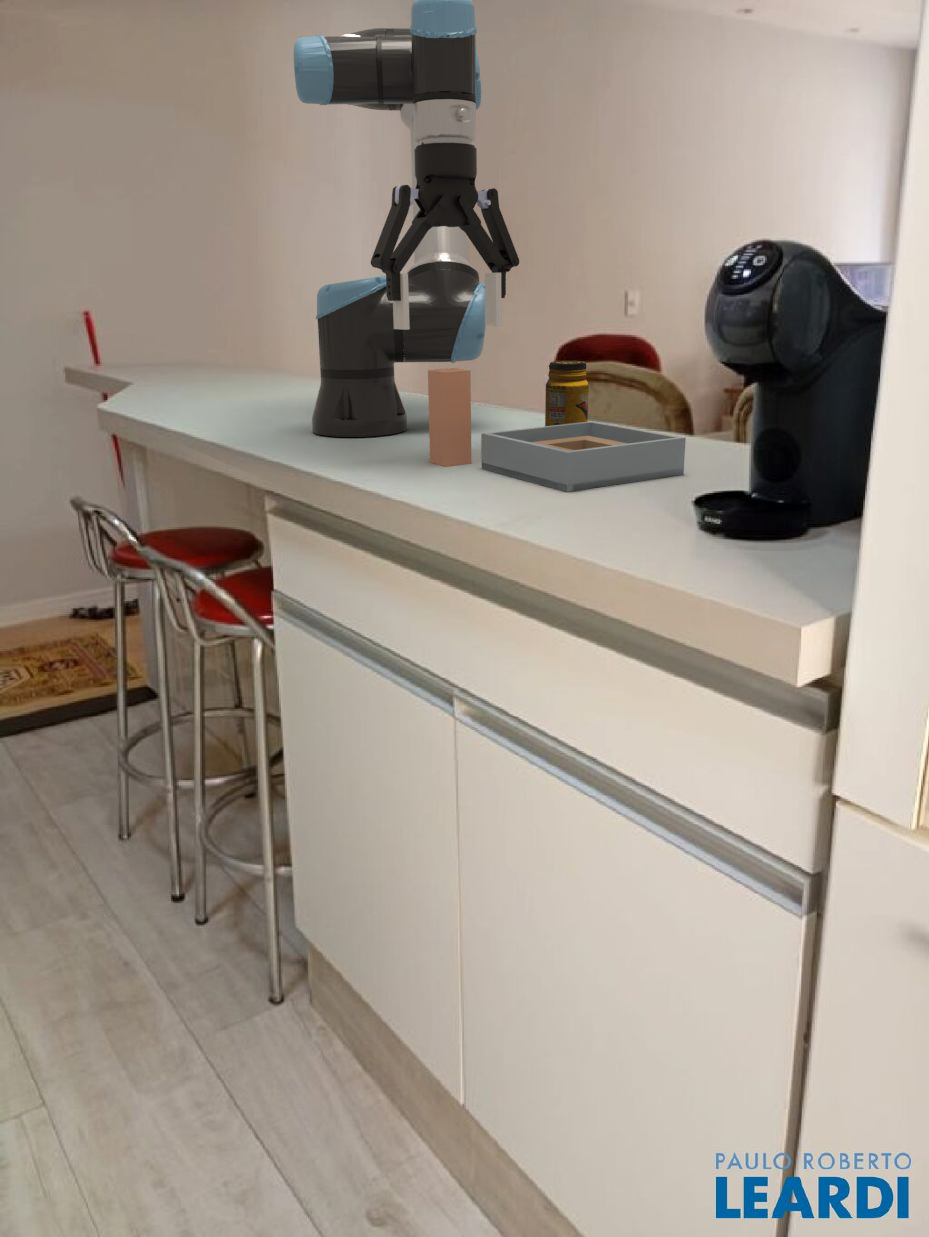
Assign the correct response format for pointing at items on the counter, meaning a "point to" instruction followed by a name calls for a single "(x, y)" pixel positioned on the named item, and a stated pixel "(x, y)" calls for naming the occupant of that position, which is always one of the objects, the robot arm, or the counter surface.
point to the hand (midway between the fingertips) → (448, 327)
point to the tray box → (582, 455)
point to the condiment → (566, 393)
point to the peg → (450, 416)
